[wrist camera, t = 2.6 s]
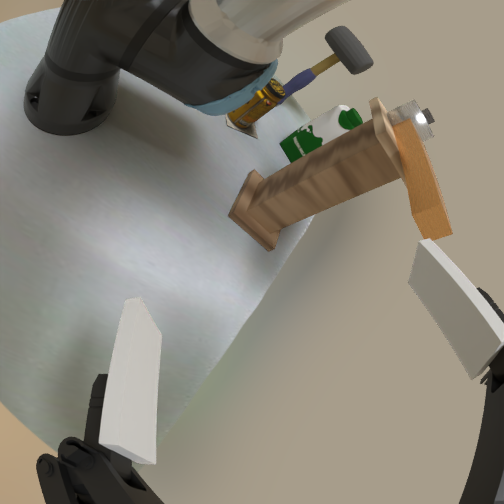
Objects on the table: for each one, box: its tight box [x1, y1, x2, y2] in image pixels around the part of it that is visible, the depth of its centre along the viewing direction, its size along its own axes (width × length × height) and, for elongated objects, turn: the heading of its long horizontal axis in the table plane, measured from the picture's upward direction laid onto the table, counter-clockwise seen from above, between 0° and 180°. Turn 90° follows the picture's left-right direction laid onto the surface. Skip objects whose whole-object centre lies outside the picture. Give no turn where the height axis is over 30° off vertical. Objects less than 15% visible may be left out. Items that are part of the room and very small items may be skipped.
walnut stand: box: [228, 97, 407, 251], centre depth 41 cm, size 12×10×28 cm
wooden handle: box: [386, 100, 453, 241], centre depth 26 cm, size 23×6×6 cm, turn 157°
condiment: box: [226, 78, 286, 138], centre depth 52 cm, size 7×8×12 cm
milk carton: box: [280, 105, 363, 163], centre depth 60 cm, size 9×9×20 cm
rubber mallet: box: [277, 26, 373, 104], centre depth 58 cm, size 12×8×30 cm, turn 43°
